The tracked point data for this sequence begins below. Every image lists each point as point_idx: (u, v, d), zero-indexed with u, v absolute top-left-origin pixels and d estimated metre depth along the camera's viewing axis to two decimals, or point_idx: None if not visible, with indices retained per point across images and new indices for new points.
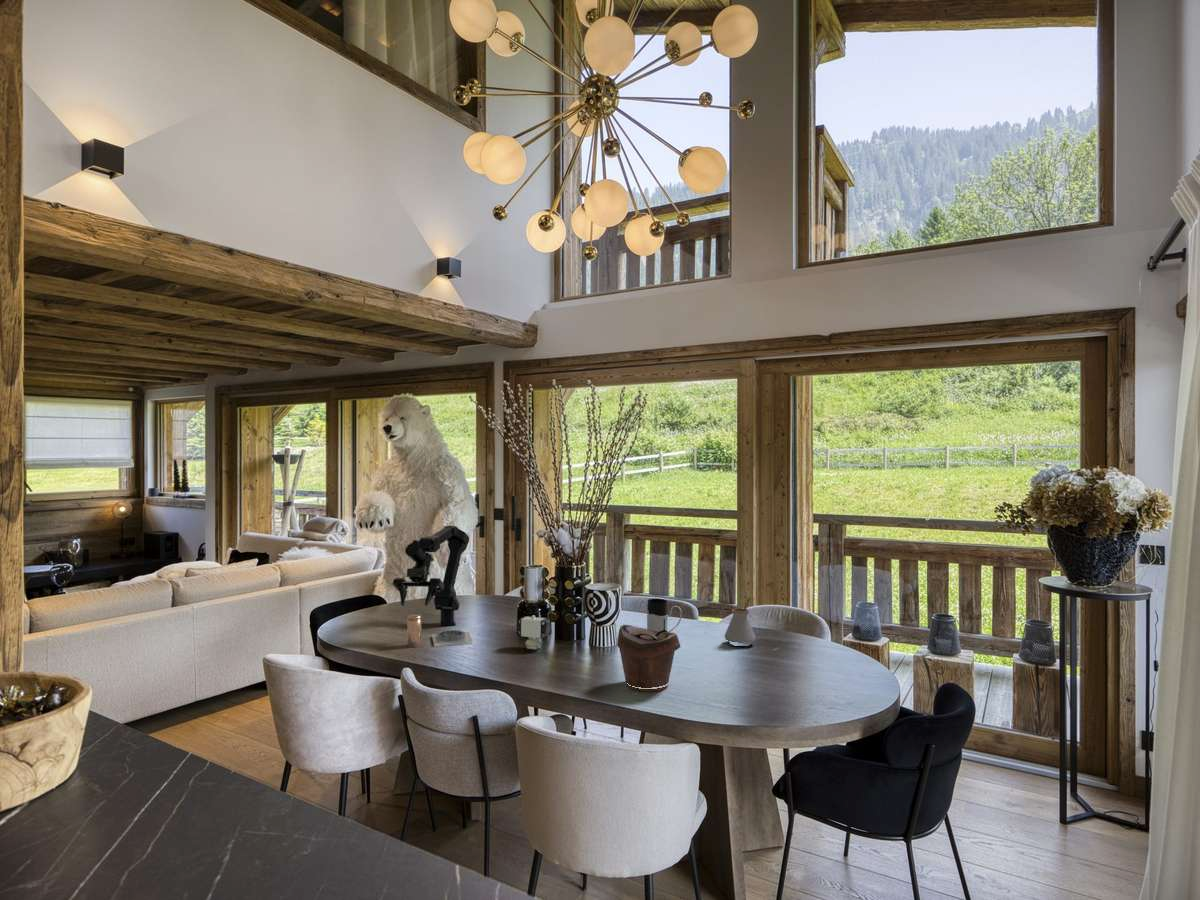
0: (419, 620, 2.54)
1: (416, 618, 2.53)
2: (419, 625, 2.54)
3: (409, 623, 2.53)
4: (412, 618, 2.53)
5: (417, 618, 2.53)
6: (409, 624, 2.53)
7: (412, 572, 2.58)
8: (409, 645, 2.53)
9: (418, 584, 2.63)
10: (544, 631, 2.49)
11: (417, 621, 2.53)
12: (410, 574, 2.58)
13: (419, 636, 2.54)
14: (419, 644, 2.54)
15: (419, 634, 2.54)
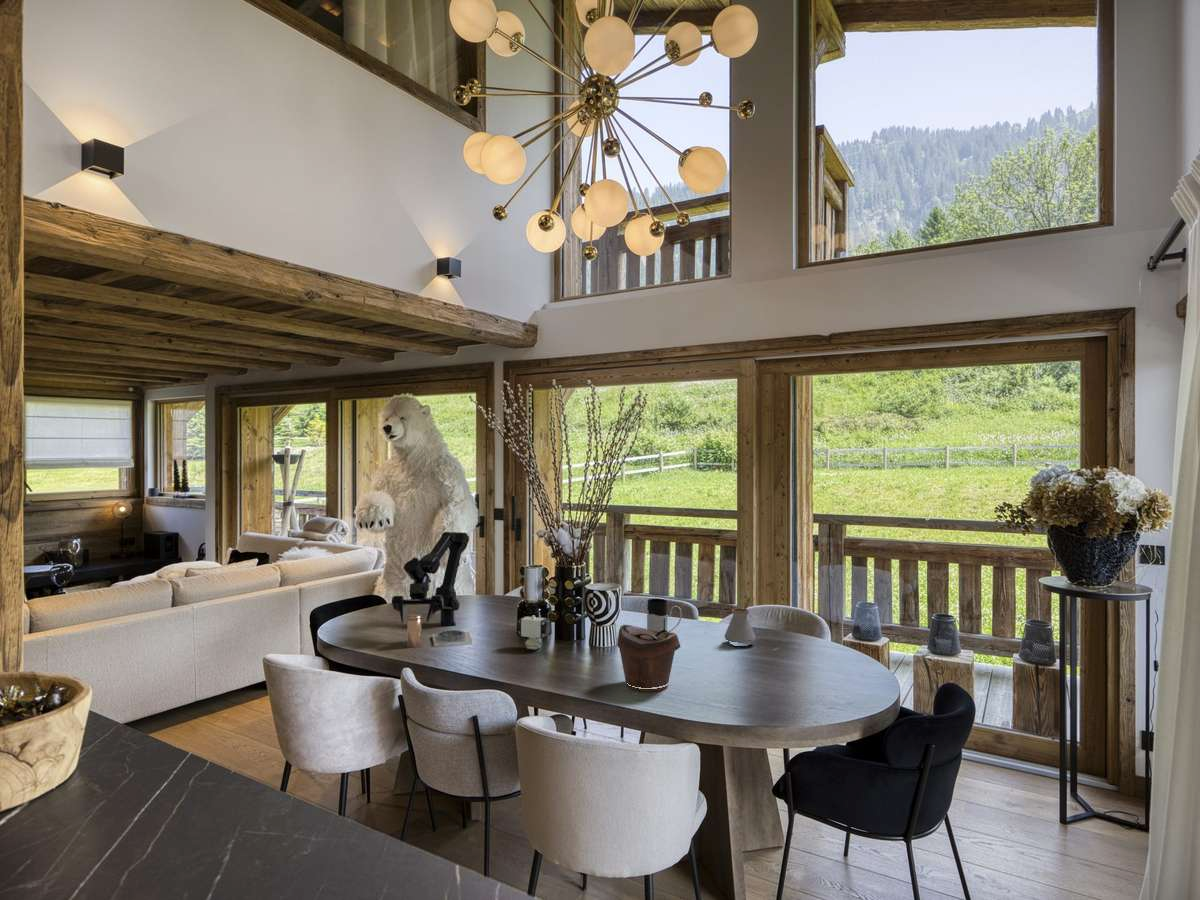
0: (419, 620, 2.54)
1: (416, 618, 2.53)
2: (419, 625, 2.54)
3: (409, 623, 2.53)
4: (412, 618, 2.53)
5: (417, 618, 2.53)
6: (409, 624, 2.53)
7: (416, 587, 2.57)
8: (409, 645, 2.53)
9: (418, 602, 2.62)
10: (544, 631, 2.49)
11: (417, 621, 2.53)
12: (413, 589, 2.57)
13: (419, 636, 2.54)
14: (419, 644, 2.54)
15: (419, 634, 2.54)
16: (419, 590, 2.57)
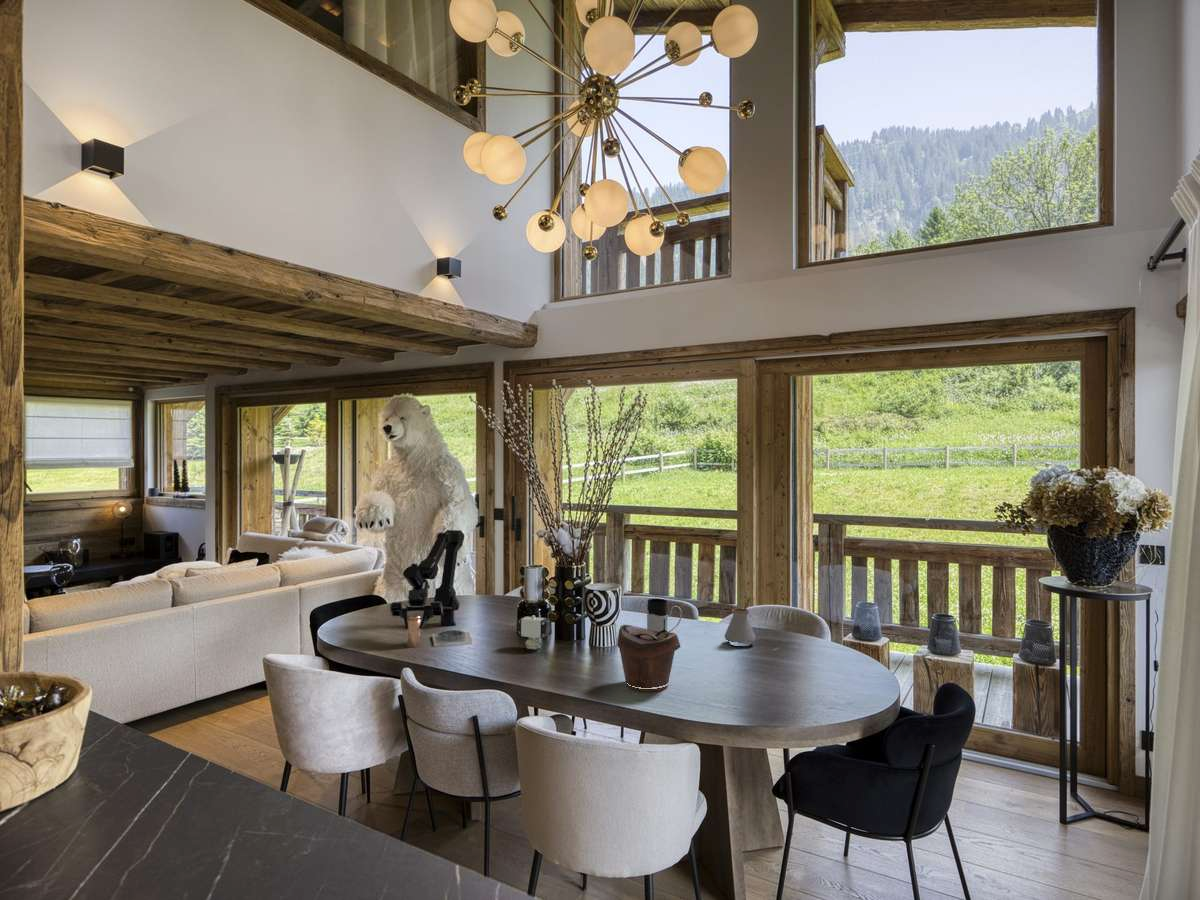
0: (419, 620, 2.54)
1: (416, 618, 2.53)
2: (419, 625, 2.54)
3: (409, 623, 2.53)
4: (412, 618, 2.53)
5: (417, 618, 2.53)
6: (409, 624, 2.53)
7: (414, 593, 2.55)
8: (409, 645, 2.53)
9: (417, 608, 2.59)
10: (544, 631, 2.49)
11: (417, 621, 2.53)
12: (412, 595, 2.55)
13: (419, 636, 2.54)
14: (419, 644, 2.54)
15: (419, 634, 2.54)
16: (418, 597, 2.55)
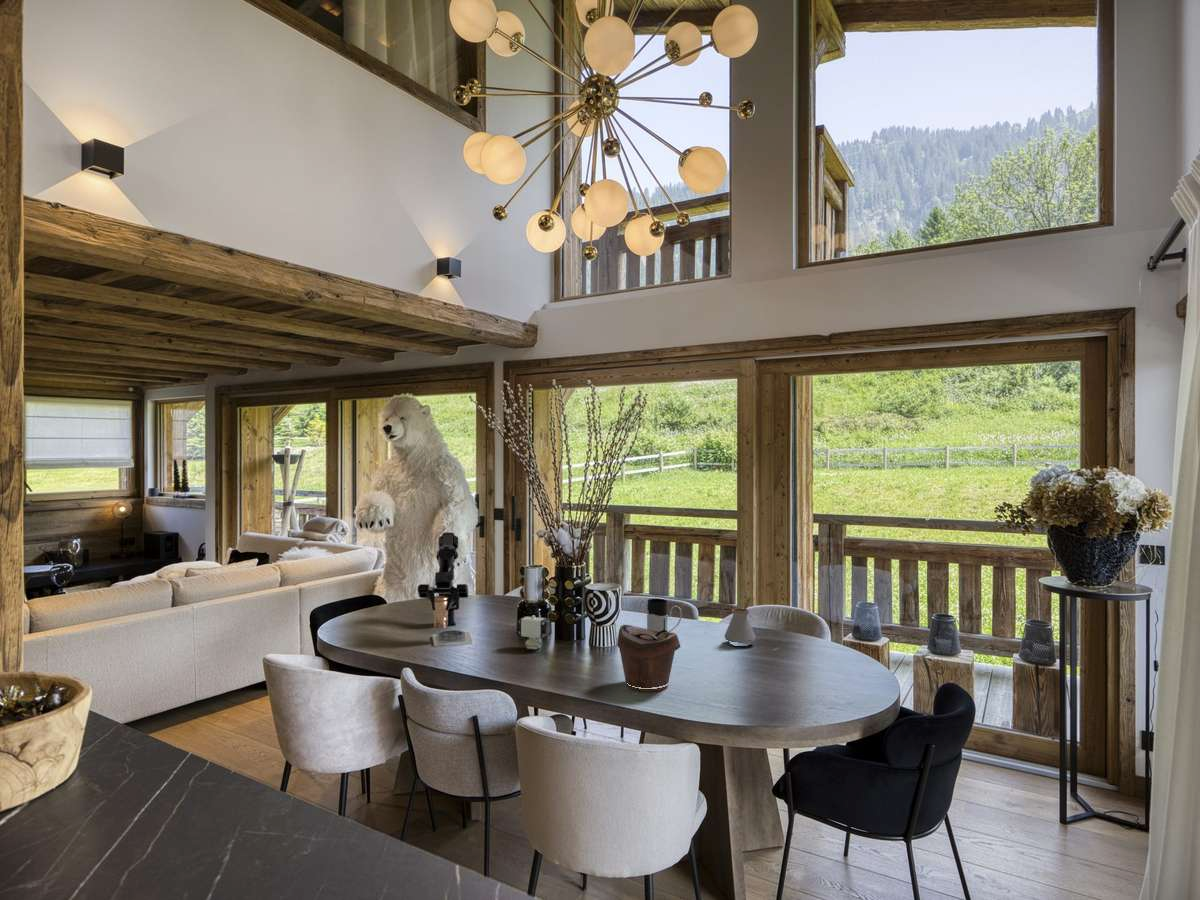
0: (445, 602, 2.59)
1: (443, 600, 2.58)
2: (445, 606, 2.60)
3: (436, 604, 2.59)
4: (439, 600, 2.58)
5: (444, 600, 2.59)
6: (436, 605, 2.59)
7: (441, 576, 2.61)
8: (436, 626, 2.59)
9: (443, 590, 2.65)
10: (544, 631, 2.49)
11: (444, 603, 2.59)
12: (439, 578, 2.60)
13: (445, 617, 2.60)
14: (445, 625, 2.60)
15: (445, 615, 2.60)
16: (444, 579, 2.60)
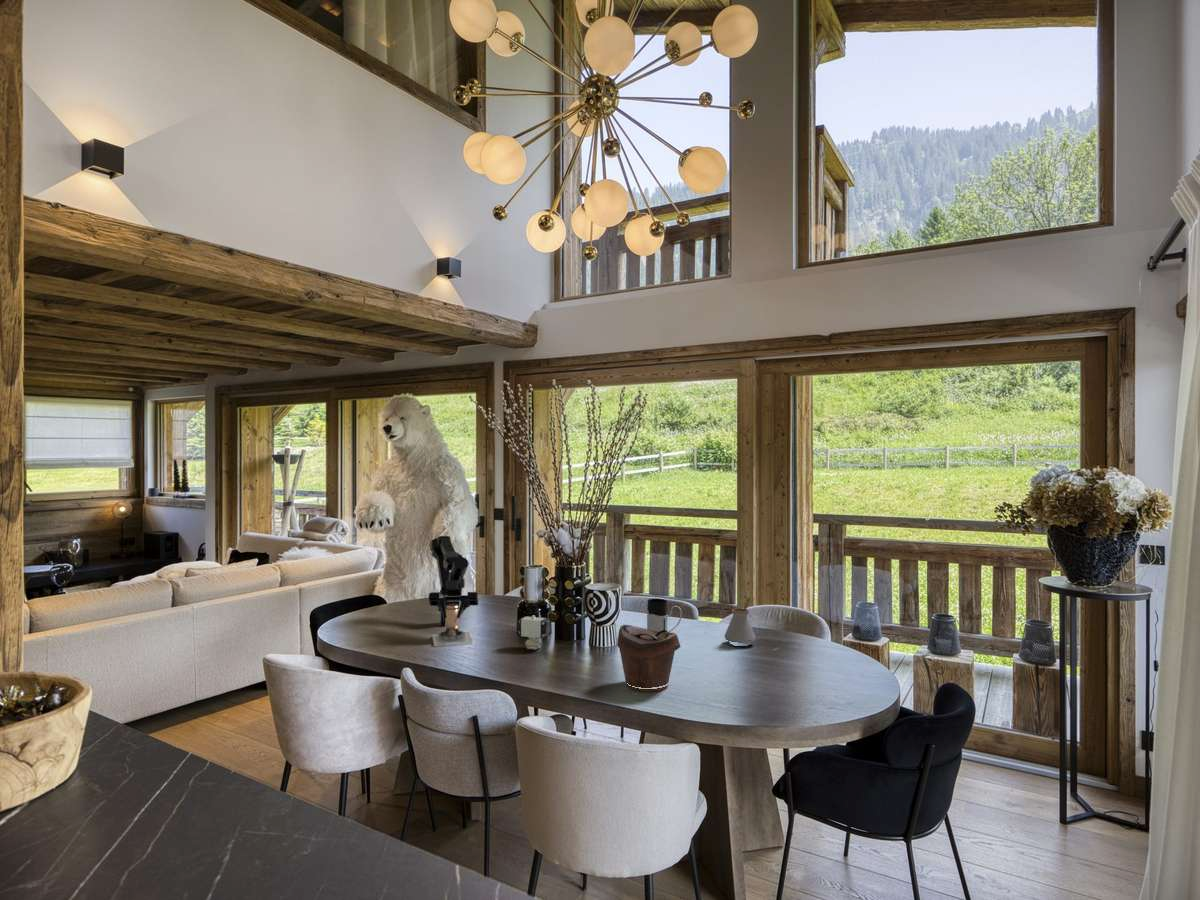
0: (457, 609, 2.62)
1: (454, 607, 2.61)
2: (457, 614, 2.62)
3: (447, 612, 2.61)
4: (450, 607, 2.60)
5: (455, 607, 2.61)
6: (447, 613, 2.61)
7: (452, 584, 2.63)
8: (447, 634, 2.61)
9: (454, 598, 2.67)
10: (544, 631, 2.49)
11: (455, 610, 2.61)
12: (450, 586, 2.62)
13: (457, 625, 2.62)
14: (457, 633, 2.62)
15: (457, 623, 2.62)
16: (456, 587, 2.62)
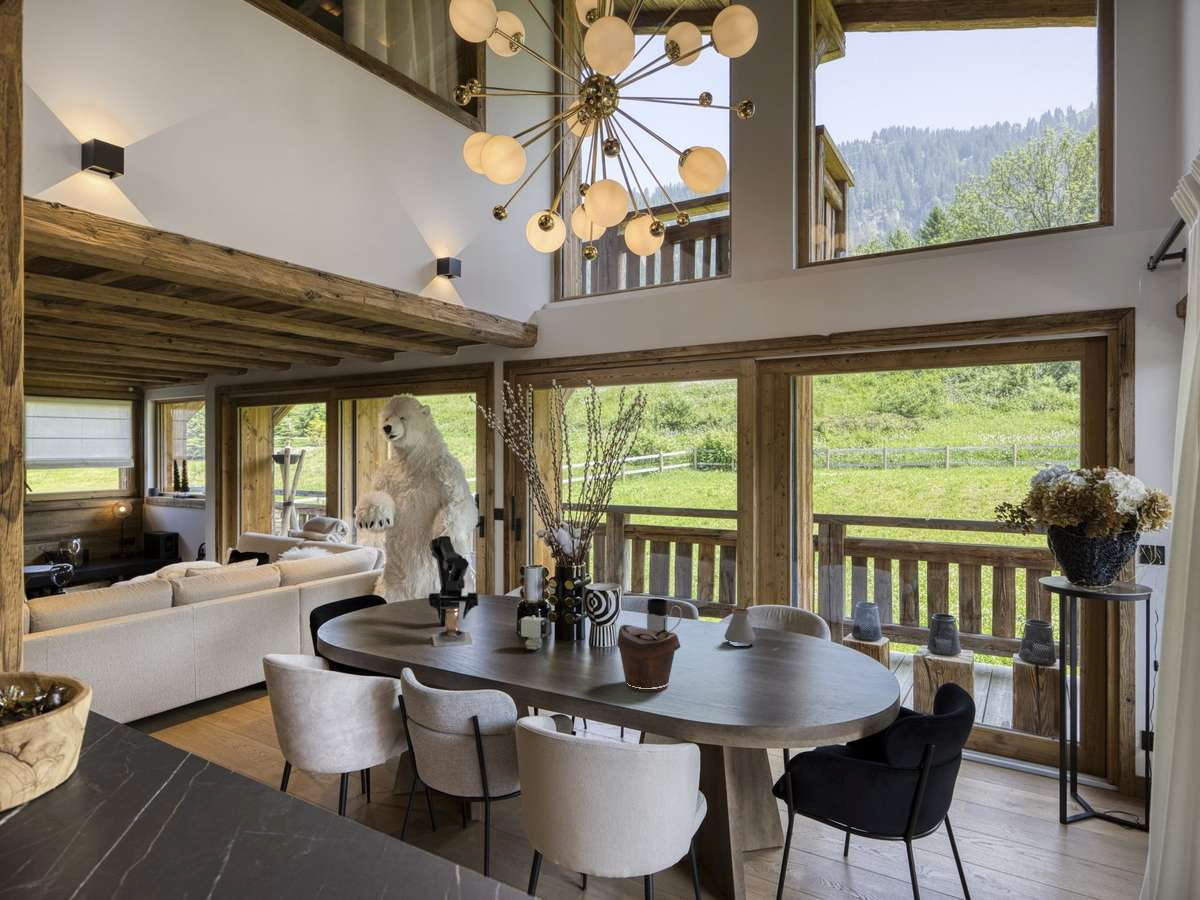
0: (457, 612, 2.62)
1: (454, 610, 2.61)
2: (457, 617, 2.62)
3: (447, 615, 2.61)
4: (450, 610, 2.60)
5: (455, 610, 2.61)
6: (447, 616, 2.61)
7: (452, 584, 2.63)
8: None
9: (454, 599, 2.67)
10: (544, 631, 2.49)
11: (455, 613, 2.61)
12: (450, 586, 2.62)
13: (457, 628, 2.62)
14: None
15: (457, 626, 2.62)
16: (456, 587, 2.62)
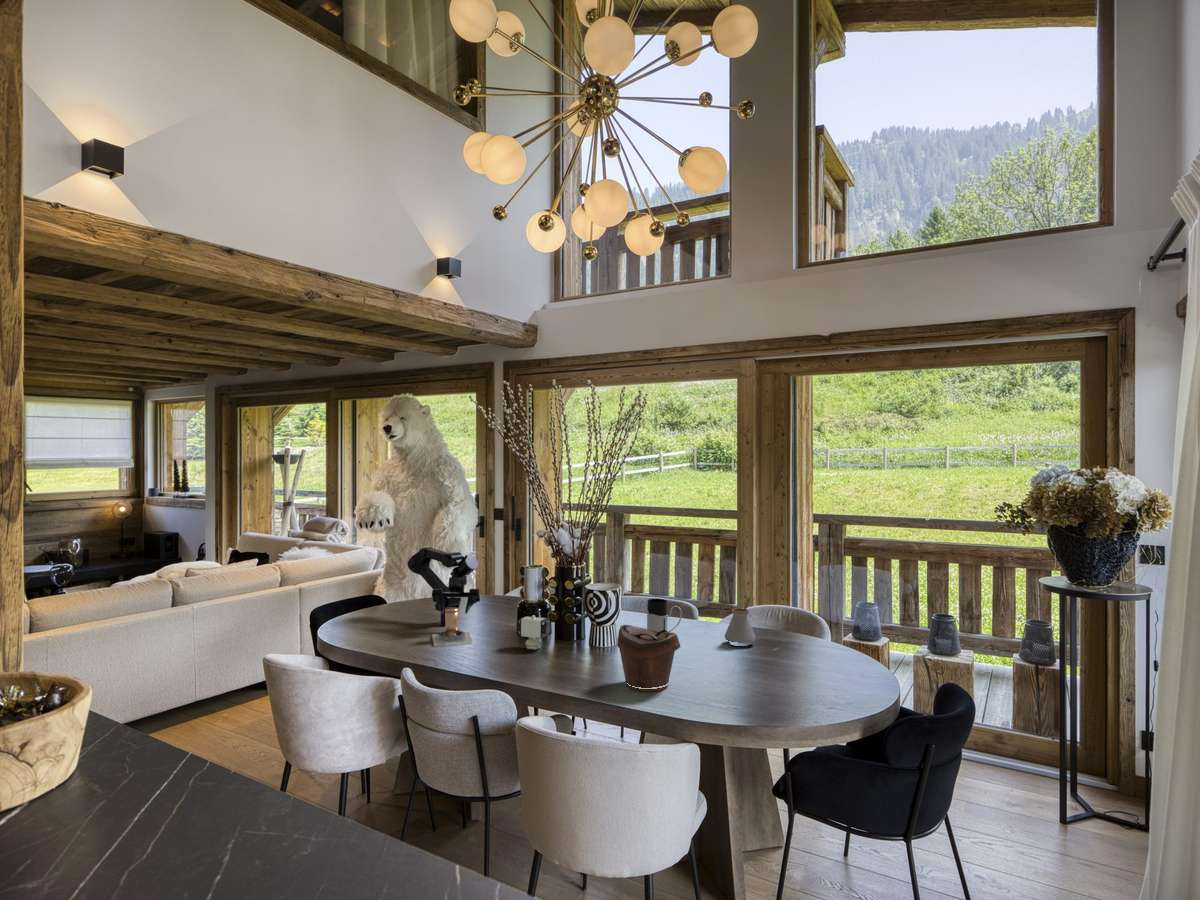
0: (456, 612, 2.62)
1: (454, 610, 2.61)
2: (457, 617, 2.62)
3: (447, 615, 2.61)
4: (450, 611, 2.60)
5: (455, 610, 2.61)
6: (447, 616, 2.61)
7: (455, 580, 2.71)
8: None
9: (456, 595, 2.75)
10: (544, 631, 2.49)
11: (455, 613, 2.61)
12: (453, 582, 2.71)
13: (457, 628, 2.62)
14: None
15: (457, 626, 2.62)
16: (458, 583, 2.71)
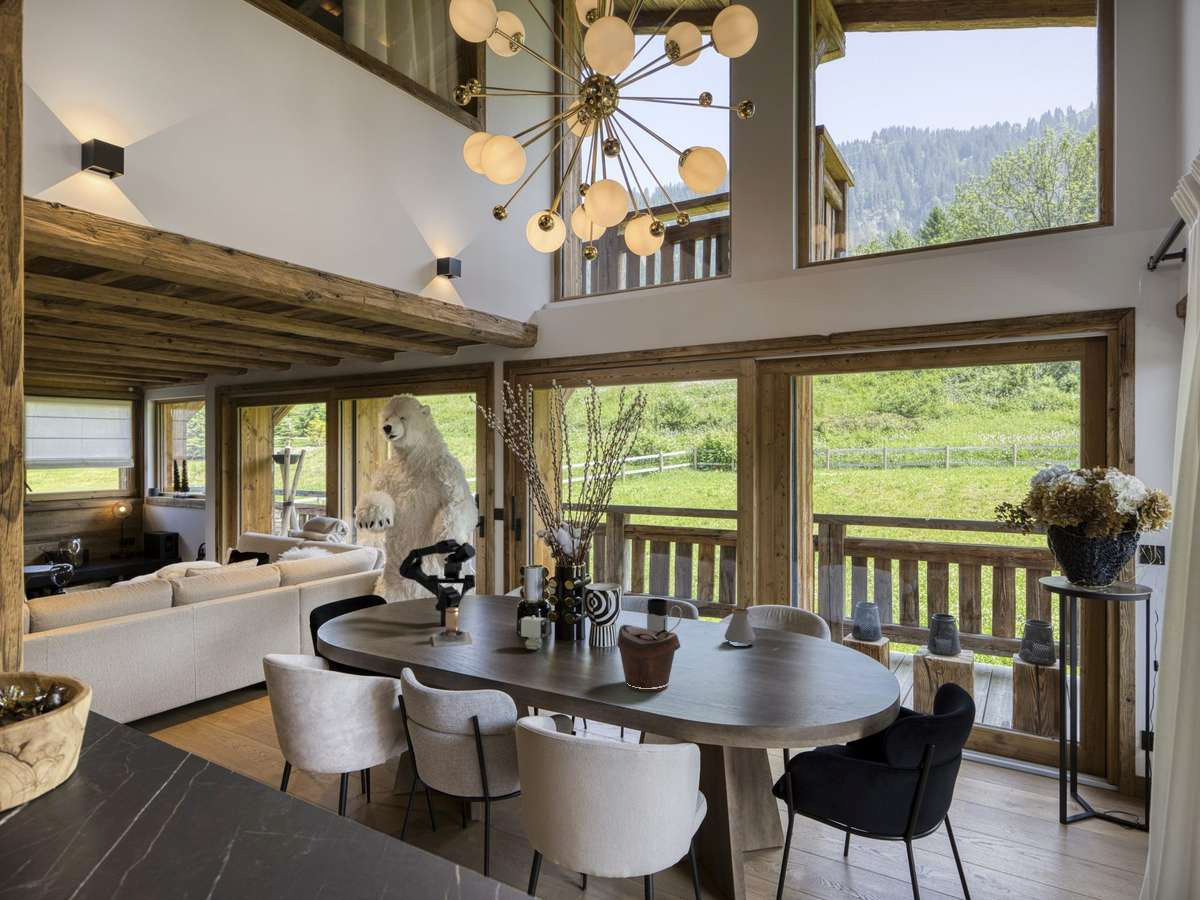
0: (457, 612, 2.62)
1: (454, 610, 2.61)
2: (457, 617, 2.62)
3: (448, 615, 2.61)
4: (451, 610, 2.61)
5: (455, 610, 2.61)
6: (448, 616, 2.61)
7: (450, 566, 2.74)
8: None
9: (451, 581, 2.79)
10: (544, 631, 2.49)
11: (455, 613, 2.61)
12: (448, 568, 2.74)
13: (457, 628, 2.62)
14: None
15: (457, 626, 2.62)
16: (453, 569, 2.74)
